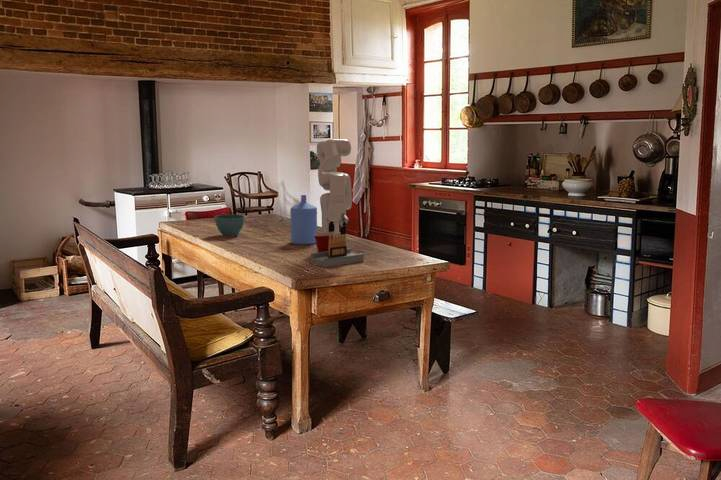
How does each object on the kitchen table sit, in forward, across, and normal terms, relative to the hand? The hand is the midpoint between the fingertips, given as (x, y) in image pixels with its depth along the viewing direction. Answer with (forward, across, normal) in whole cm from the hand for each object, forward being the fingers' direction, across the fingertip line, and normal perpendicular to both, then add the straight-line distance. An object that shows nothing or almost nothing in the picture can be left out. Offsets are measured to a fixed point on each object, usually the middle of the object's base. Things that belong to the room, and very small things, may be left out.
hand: (337, 233), depth 329 cm
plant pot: (+18, -107, -4) cm, 109 cm away
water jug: (+17, -58, +18) cm, 63 cm away
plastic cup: (+16, -18, +4) cm, 24 cm away
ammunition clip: (+12, +1, 0) cm, 12 cm away
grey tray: (+15, +1, 0) cm, 15 cm away
